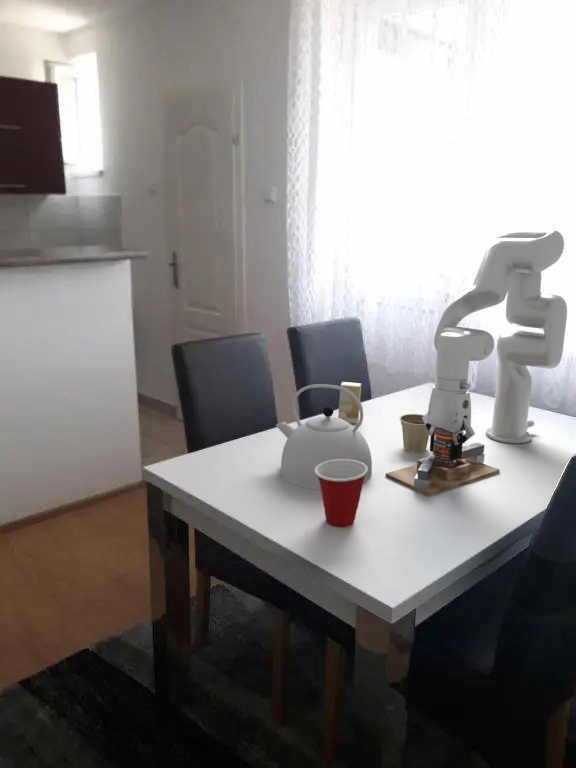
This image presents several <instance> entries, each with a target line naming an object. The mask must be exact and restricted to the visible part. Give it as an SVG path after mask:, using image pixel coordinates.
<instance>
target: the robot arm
mask: <svg viewBox="0 0 576 768" xmlns="http://www.w3.org/2000/svg"><path fill="white" fill-rule="evenodd" d="M564 249H565V239H564V237H563V235H562V233H561V232H559V231H558V230H554V229H529V228H528V229H523V228H522V229H518V228H516V229H514V228H513V229H512V228H511V229H507V230H502V231H501V232H499V233H498V234H497V236H496V239H494V240H493V241H491V242H490V243H489V244H488V246H487V248H486V250H485V253H484V256H483V258H482V260H481V263H480V265H479V268H478V269H477V273H476V276H475V278H474V280H473V284H472V285H471V288H469V289H468V290H467V291H465V292H463V293H462V294H460V295H459V296H458V297H456V298H455V299H454V301H452V302H451V303H450V304H449V305H448V306H447V307H446V308H445V309H444V312H443V313H442V316H441V318H440V319H439V322H438V324H437V328H436V330H435V333H434V338H433V347H434V349H435V351H436V363H435V368H436V369H435V377H434V378H435V379H434V386H433V387H432V390H431V393H430V398H429V402H428V407H427V408H428V410H427V412H426V413H425V414H423V415H424V416H423V417H422V419H423V421H424V423H425V424H426V427H427V429H428V431H429V437H430V438H429V439H430V440H429V441H430V442H429V451H430V452H431V453H433V445H434V434H435V429H436V428H443V429H444V430H447V431H449V432H452V436H453V440H454V444H452V448H451V460H456V459H459V458H461V455H462V447H464V446H463V444H466V442H467V441H469V439H471V438H472V437H474V436H475V435H476V434H475V433H476V432H475V431H474V429H473V427H472V425H471V423H472V402H471V401H472V400H471V394H470V393H471V392H470V391H468V390H470V389H471V384H470V383H468V382H469V381H468V380H469V379H468V378H469V369H470V366H469V365H470V362H479V361H484V360H486V359H488V357H490V356H491V354H492V353H493V351H494V348H495V340H494V337H493V336H492V334H491V333H490V332H488V331H486V330H484V329H478V328H477V329H476V328H470V327H464V326H463V327H462V326H459V323H460V322H461V321H462V320H463V319H464V318H466V317H467V316H469V315H471V314H473V313H476V312H479V311H483V310H485V309H488V308H491V307H493V306H497V305H500V304H501V303H502V302H504V301H505V299H506V304H505V305H506V306H505V318H506V321H507V323H509V324H511V325H513V326H517V327H525V328H532V329H541V330H542V331H543V332H534V331H527V330H517V329H511V330H506V331H504V332H502V333H501V334H500V335H499V337H498V339H497V342H496V343H497V344H496V354H497V355H496V356H497V377H496V384H495V385H496V386H495V395H494V403H493V405H494V406H493V416H492V423H491V424H492V426H491V427H489V428H486V431H485V434H486V436H487V437H488V438H489V439H492V440H494V441H497V442H501V443H508V444H523V443H528V442H530V441H531V440H532V435H531V433H530V432H529V431H528V429H529V428H532V427H534V426H535V421H533V420H528V418H529V417H528V416H529V408H530V399H531V391H532V386H533V384H532V383H533V382H532V376H531V373H530V371H529V369H528V367H532V368H539V369H546V370H547V369H550V370H551V369H555V368H556V367H558V366H559V364H560V363H561V360H562V357H563V351H564V344H565V337H566V336H565V335H566V326H567V319H568V306H567V302H566V300H565V299H564V298H563V297H562V296H560V295H558V294H550V293H542V291H541V287H542V286H541V285H542V272H543V271H545V270H546V269H548V268H550V267H551V266H553V265H554V264H556V263H557V262H558V260H559V259H561V257H562V255H563V253H564ZM464 431H465V433H464ZM458 434H459V438H458Z"/></svg>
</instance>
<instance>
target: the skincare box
mask: <svg viewBox="0 0 576 768" xmlns="http://www.w3.org/2000/svg"><path fill="white" fill-rule="evenodd" d="M340 387H343V388H345V389H347V390H349V391H351V392H352V393H353V394H354V395H355V396H356V397H357V398H358V399H359V401H360V402H361V395H362V394H361V393H362V383H360V382H359V383H358V382H350V381H349V382H348V381H341V383H340ZM337 418H340V419H342V420H344V421H347V422H348V423H349V424H356V425H357V424H358V422H359V419H360V410H359V406H358V404H357V402H356V401H355V399H354V398H353V397H352V396H350V395H349V394H348V393H346V392H344V391H341V390H339V401H338V415H337Z"/></svg>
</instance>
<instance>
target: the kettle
mask: <svg viewBox="0 0 576 768" xmlns="http://www.w3.org/2000/svg"><path fill="white" fill-rule="evenodd" d="M315 388H319V389H320V388H325V389H333V390H334V389H335V390H337V391H338V390H339V391H340V390H341V391H344V392H346V393H348V394H349V395H350V396H352V397H353V398H354V399H355V401H356V402H357V404H358V406H359V420H358V423H357V424H356V425H355V426H354V425H352V423H348V422H347V421H344V420H342V419H340V418H338V417H337V416H336V417H335V416H333V414H334V408H333V407H332V406H330V405H326V406H324V407H323V409H322V414H323V415H324V416H317V417H314V418H311V419H309V420H307V421H305V422H302V423H301V420H300V419H299V417H298V413H297V410H296V402H297V399H298V397H299V396H300V395H301V394H302V392H304V391H306V390H307V391H308V390H309V389H315ZM292 399H293V400H292V404H291V408H292V409H291V410H292V414H293V417H294V419H295V422H296V423H297V427H293V426H291V425H290V424H288V423H287V422H285V421H282V422H279V423H277V424H275V427H276V428H277V429H278V430H279V431H280V432H281V433H282V434H283V435H284V436H285V437H286V438H287V439H286V441H285V444H284V447H283V450H282V453H281V460H280V462H281V463H280V474H281V476H282V477H283V479H285V480H286V481H287V482H289V483H290V484H292V485H295V486H298V487H301V488H306V489H310V490H316V491H321V486H320V482H319V479H318V476H317V474H316V473H315V467H316V466H318V465H319V464H320V463H323V462H326V461H330V460H336V459H349V460H356V461H359V462H362V463H364V464H365V465H366V466H367V468H368V471H367V473H366V475H365V478H364V482H363V485H365V484H367V483H368V482H369V481H370V480H371V479H372V475H373V471H372V469H373V461H372V453H371V450H370V447H369V444H368V442H367V440H366V439H365V436H364V435H363V434H362V433H361V431H359V430H358V429H360V427H361V425H362V423H363V419H364V409H363V405H362V403H361V400H360V401H359V399H358V398H357V397H356V396H355V395H354V394H353V393H352V392H351V391H349V390H347V389H345V388H343V387H340V386H339V385H335V384H334V385H333V384H328V383H327V384H325V383H322V384H321V383H320V384H319V383H317V384H316V383H315V384H309V385H307V386H304V387H301V388H300V389H299V390H297V392H296V393H295V395H294V396H293V398H292ZM363 485H362V486H363Z"/></svg>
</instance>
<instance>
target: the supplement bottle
mask: <svg viewBox="0 0 576 768" xmlns="http://www.w3.org/2000/svg"><path fill="white" fill-rule="evenodd" d="M458 438H459V434H458ZM452 444H454V440H453V436H452V432H449V431H447V430H444V429H443V428H436V429H435V434H434V445H433V452H432V455H431V456H432V458H433V459H435V465H437V466H440V467H447V468H448V467H453V466H455V465H456V463H457V459H456V460H451V448H452Z"/></svg>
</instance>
